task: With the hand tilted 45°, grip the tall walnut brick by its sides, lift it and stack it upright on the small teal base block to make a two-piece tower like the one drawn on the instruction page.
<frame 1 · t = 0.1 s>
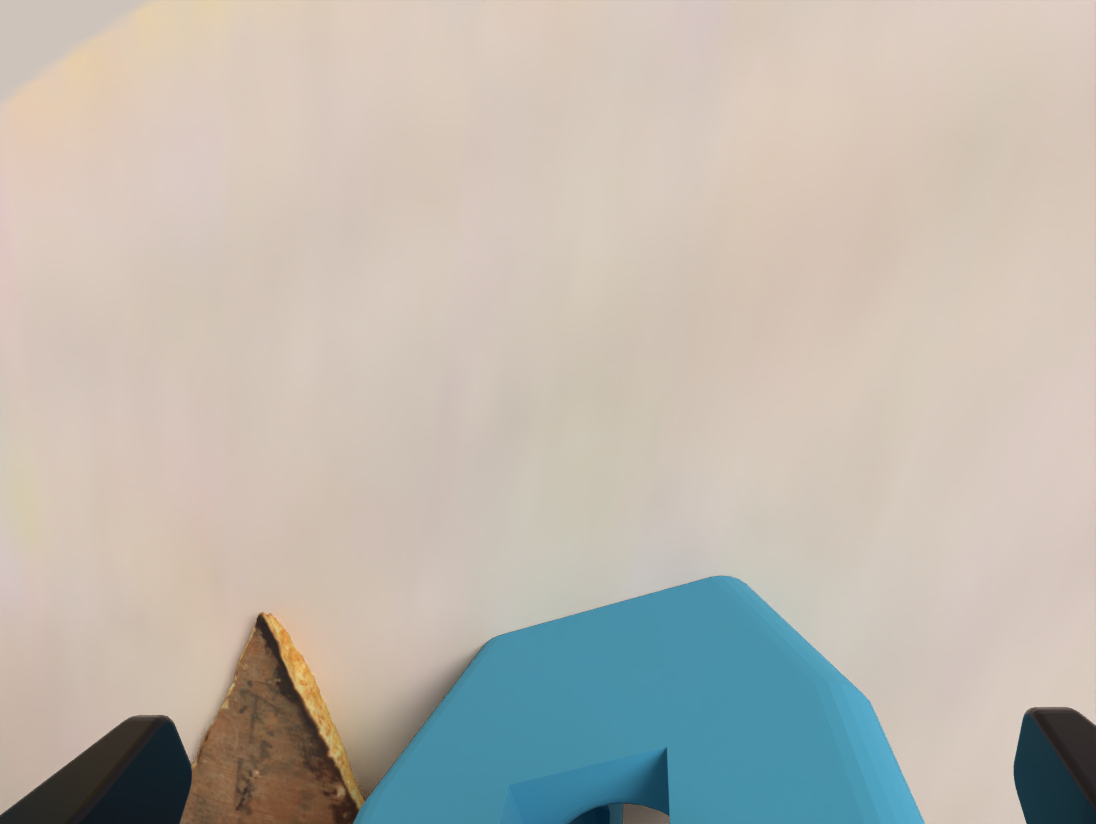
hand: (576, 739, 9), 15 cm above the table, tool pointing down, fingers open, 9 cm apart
shard: (261, 781, 29), on the table
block: (630, 677, 26), on the table
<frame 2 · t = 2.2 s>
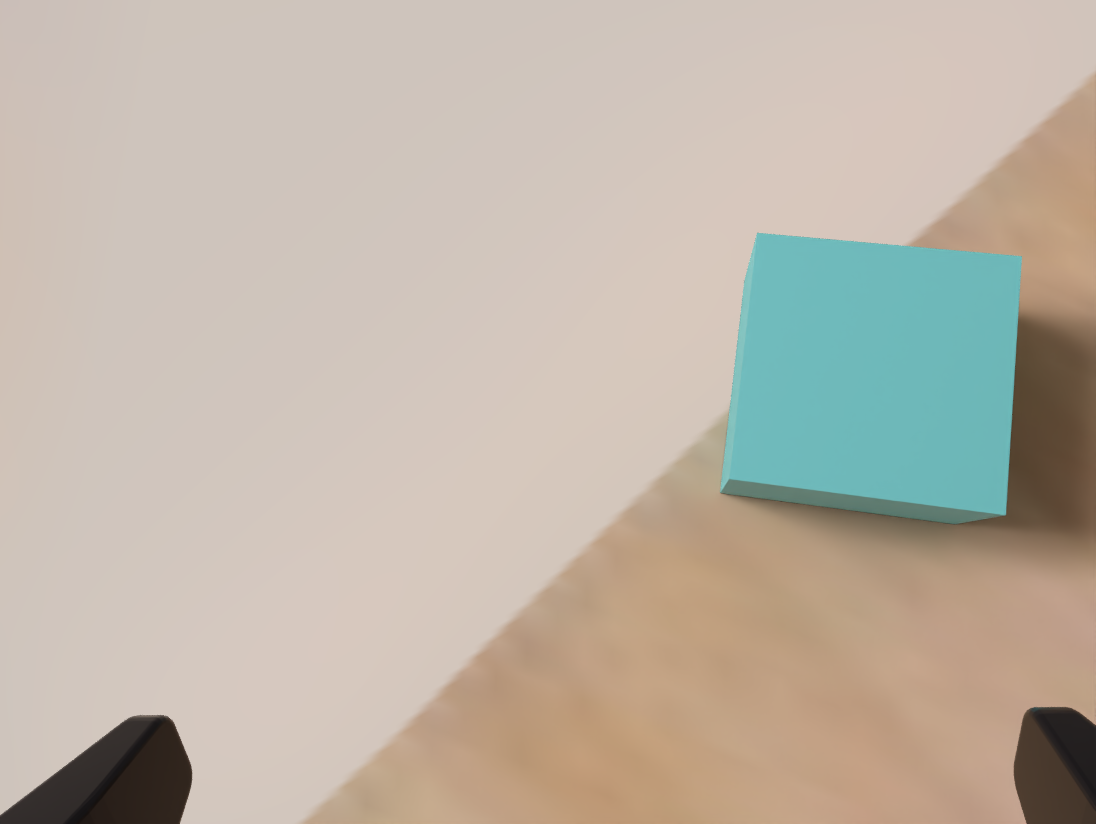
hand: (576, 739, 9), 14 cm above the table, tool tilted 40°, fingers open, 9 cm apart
teal base block: (845, 397, 24), on the table
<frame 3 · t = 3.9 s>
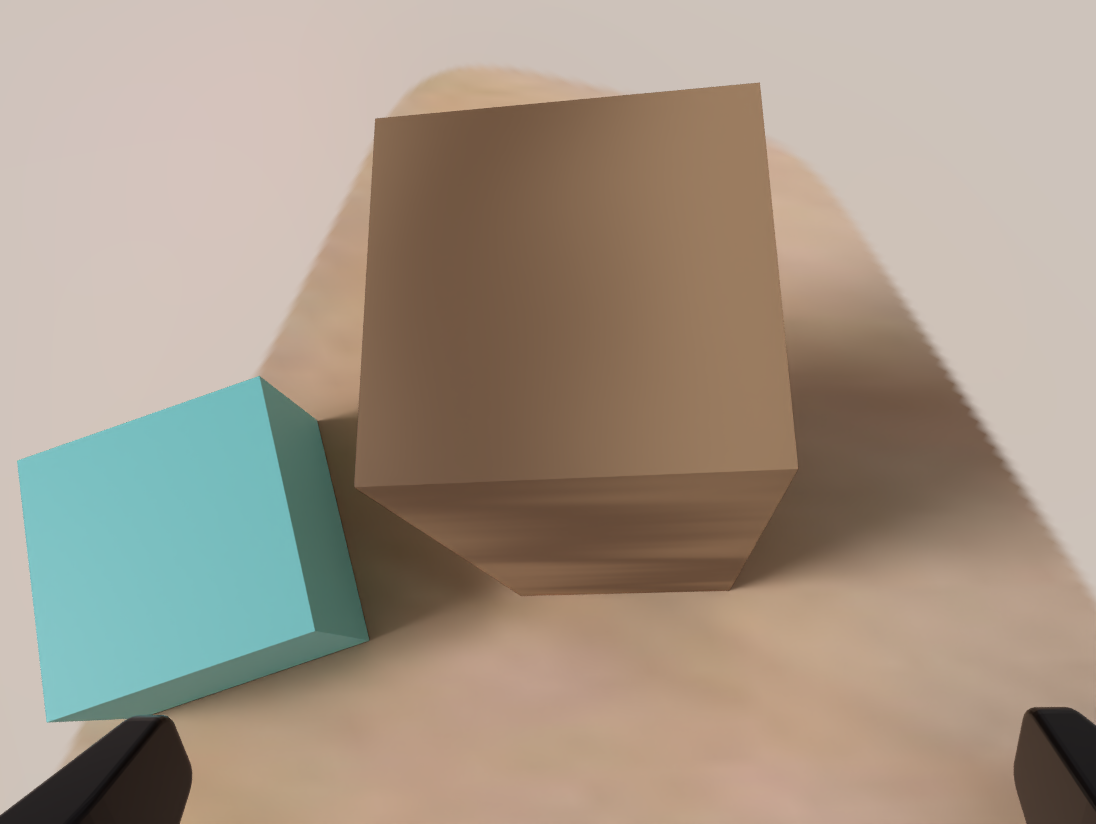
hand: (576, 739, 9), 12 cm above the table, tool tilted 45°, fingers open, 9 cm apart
teal base block: (232, 563, 23), on the table
walnut brick: (619, 491, 22), on the table
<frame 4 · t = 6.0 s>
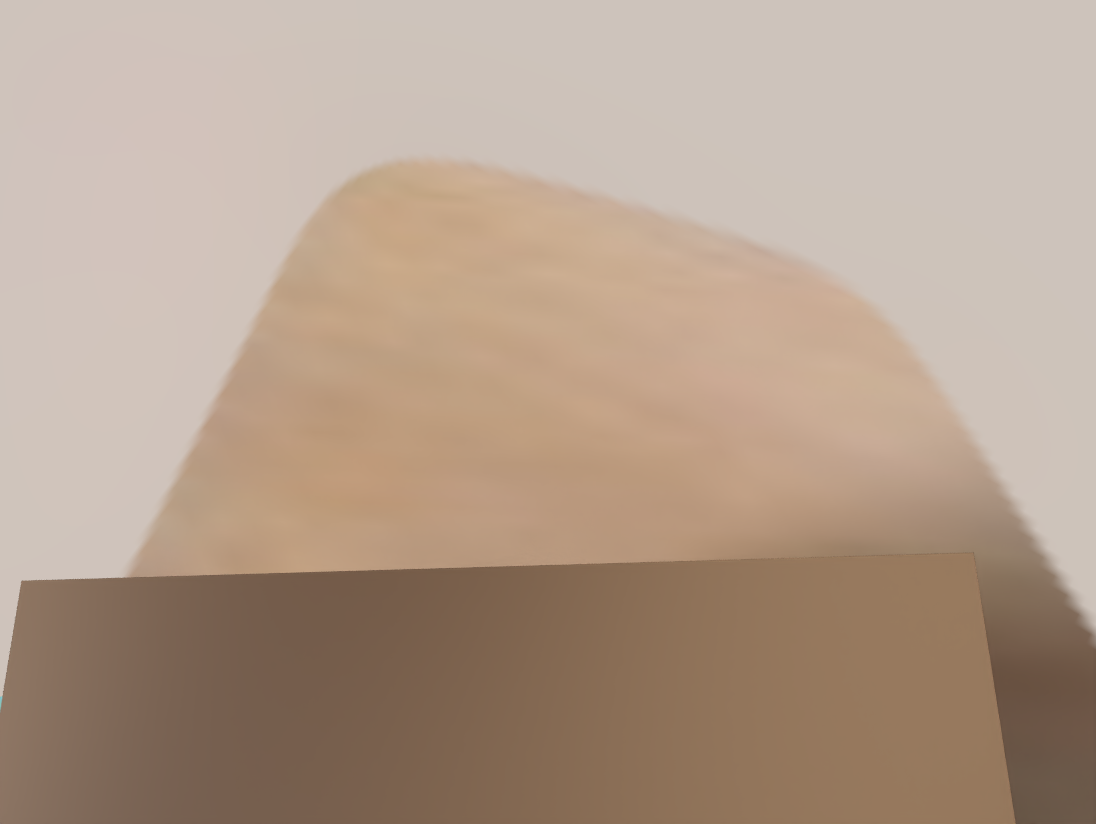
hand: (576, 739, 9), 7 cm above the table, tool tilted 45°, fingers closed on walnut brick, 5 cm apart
walnut brick: (616, 804, 15), on the table, touching gripper
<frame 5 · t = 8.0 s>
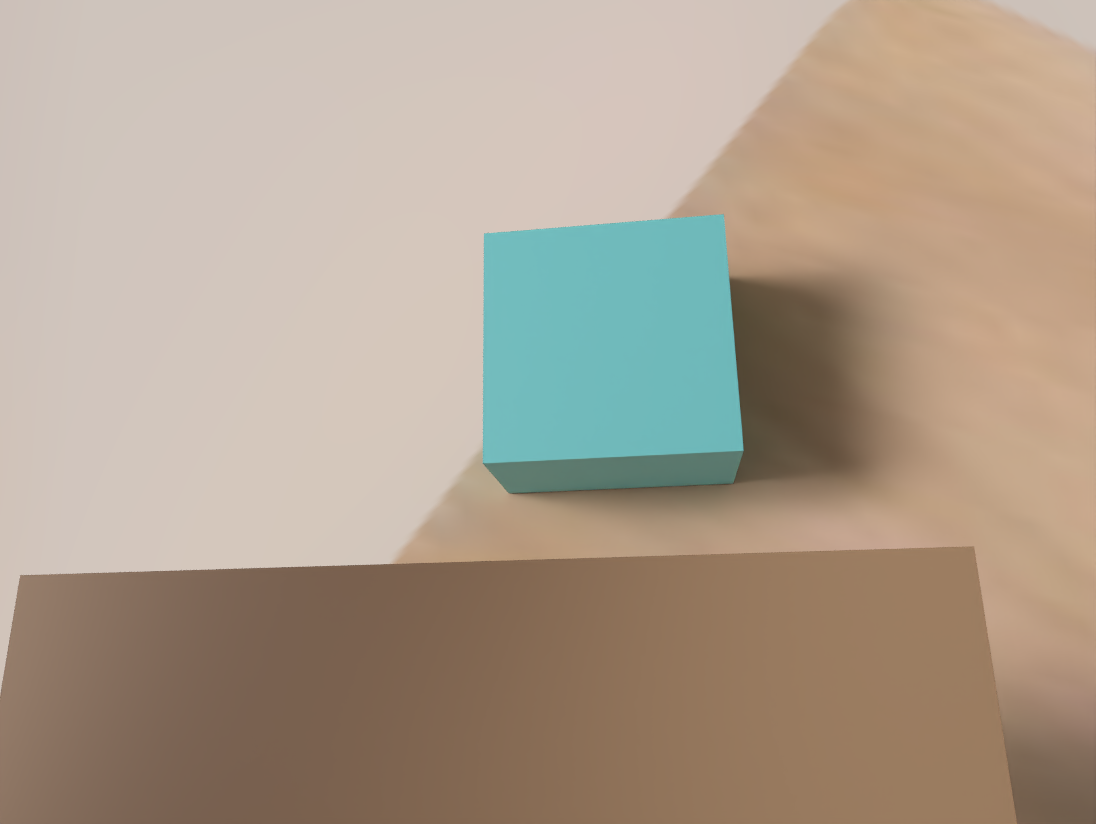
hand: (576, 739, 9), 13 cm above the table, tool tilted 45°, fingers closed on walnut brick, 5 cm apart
teal base block: (614, 382, 25), on the table
walnut brick: (616, 802, 15), point 7 cm above the table, touching gripper
when the fingers open (11 cm above the table, at t = 10.4 s): walnut brick drops 1 cm, resting on teal base block.
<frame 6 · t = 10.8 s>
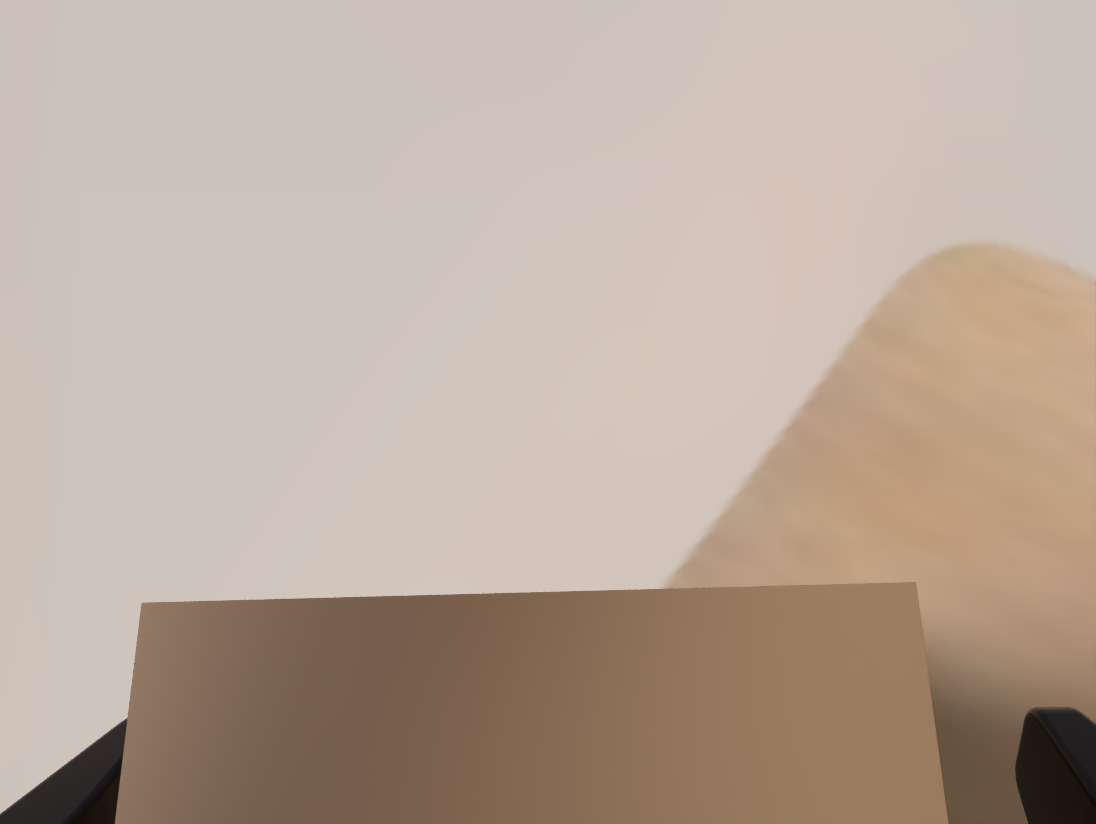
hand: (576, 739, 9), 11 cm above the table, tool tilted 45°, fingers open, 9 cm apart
walnut brick: (621, 796, 16), point 3 cm above the table, touching teal base block
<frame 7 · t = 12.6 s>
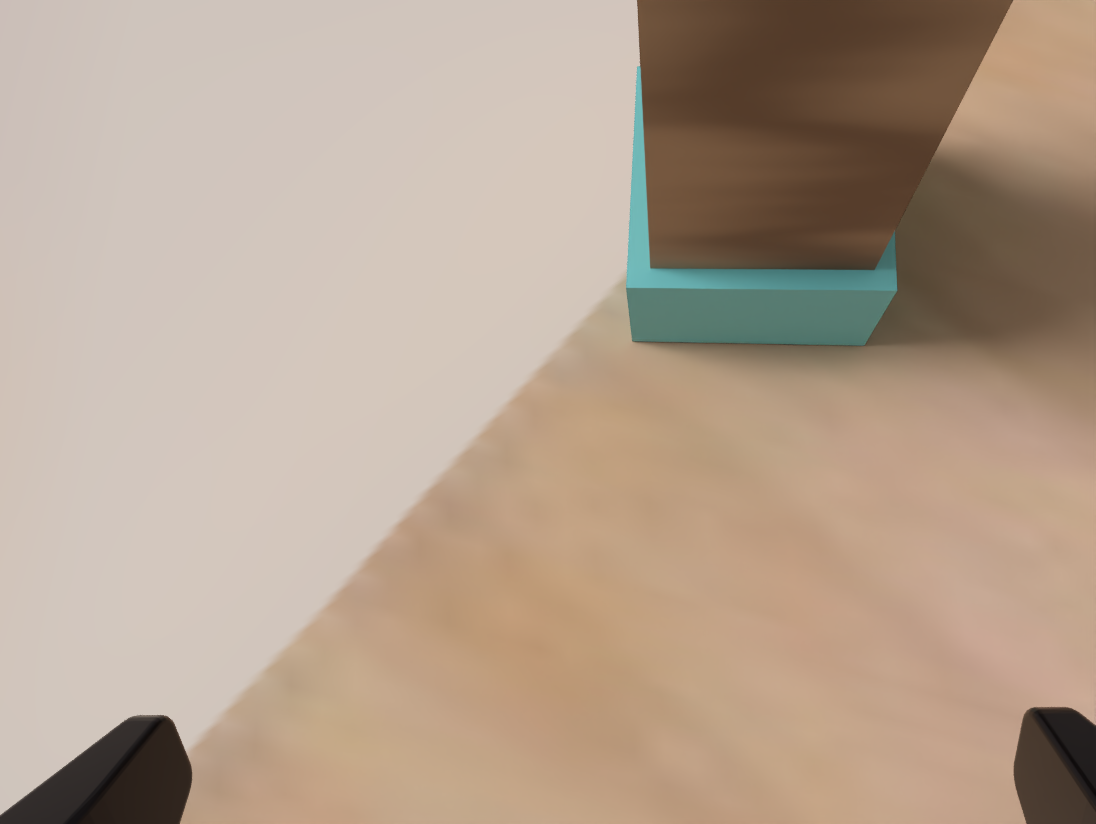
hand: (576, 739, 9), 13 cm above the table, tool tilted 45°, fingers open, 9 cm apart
teal base block: (747, 240, 24), on the table
walnut brick: (760, 172, 21), point 3 cm above the table, touching teal base block
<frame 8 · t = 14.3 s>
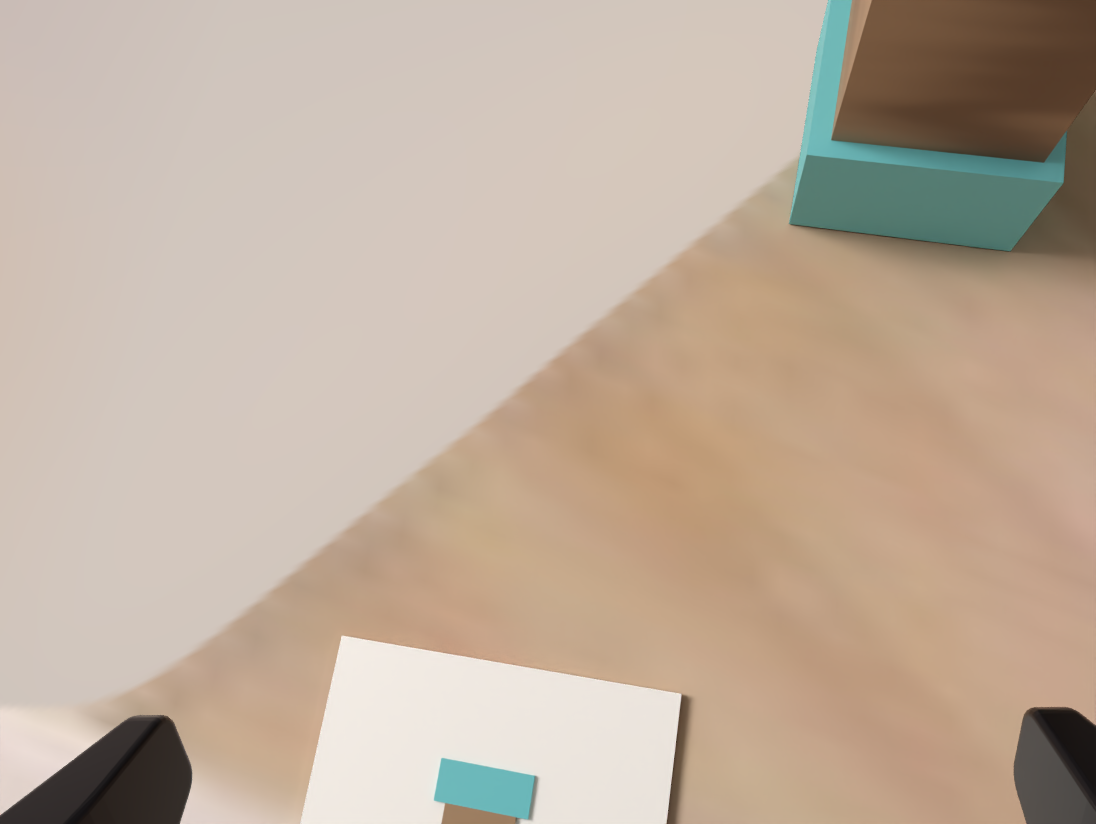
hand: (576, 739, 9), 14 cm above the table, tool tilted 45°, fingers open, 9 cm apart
teal base block: (908, 145, 26), on the table
walnut brick: (944, 66, 22), point 3 cm above the table, touching teal base block
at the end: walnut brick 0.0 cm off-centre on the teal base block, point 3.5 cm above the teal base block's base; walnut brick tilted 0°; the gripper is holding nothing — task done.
